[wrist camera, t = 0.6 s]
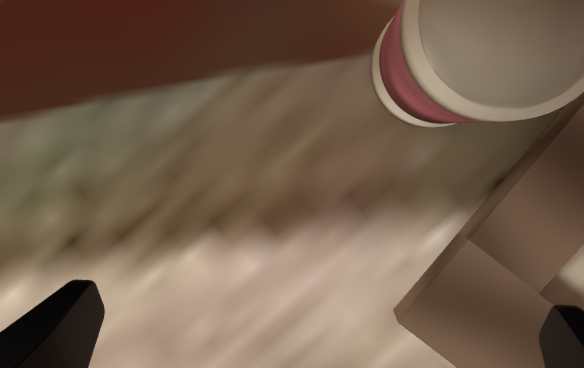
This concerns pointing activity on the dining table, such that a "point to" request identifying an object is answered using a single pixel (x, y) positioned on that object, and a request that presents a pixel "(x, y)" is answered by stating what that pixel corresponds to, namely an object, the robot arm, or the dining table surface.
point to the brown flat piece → (506, 258)
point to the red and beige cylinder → (479, 60)
